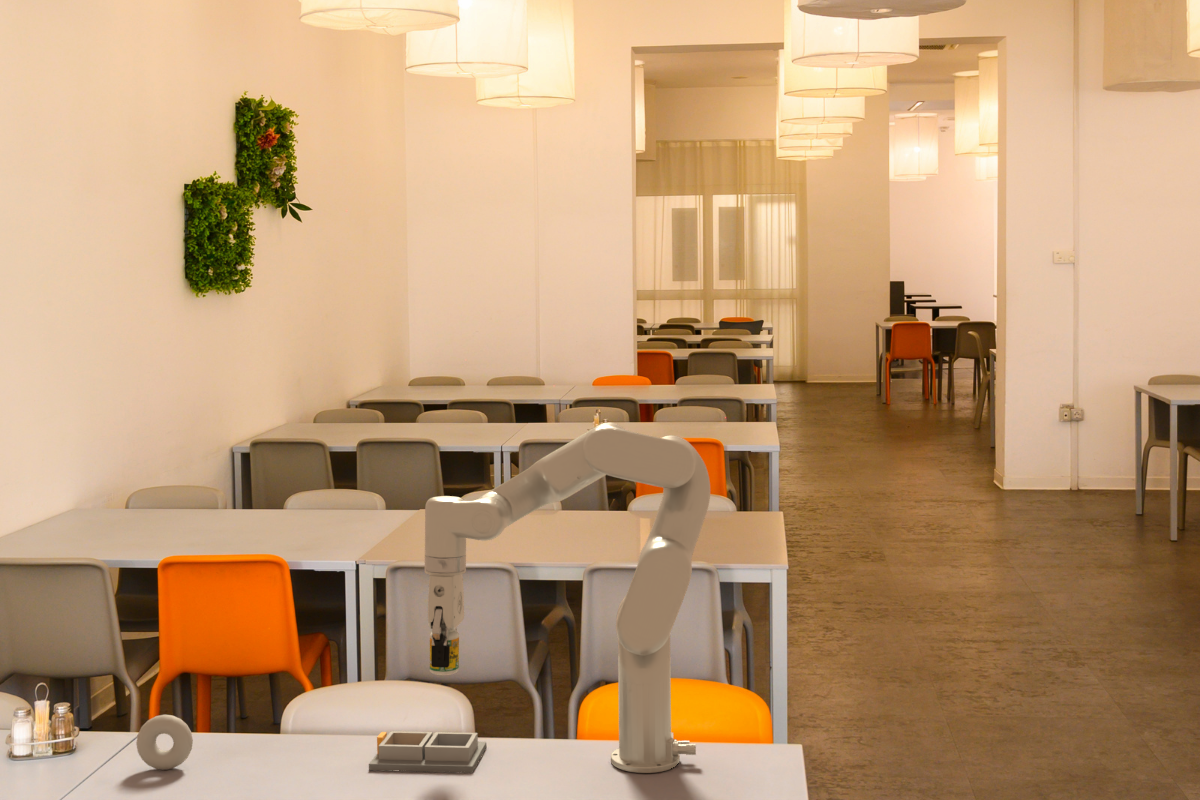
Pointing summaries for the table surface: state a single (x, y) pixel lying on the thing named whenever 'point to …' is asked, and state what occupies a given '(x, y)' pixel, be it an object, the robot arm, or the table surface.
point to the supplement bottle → (454, 654)
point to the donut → (150, 749)
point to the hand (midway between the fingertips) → (444, 661)
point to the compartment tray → (427, 751)
